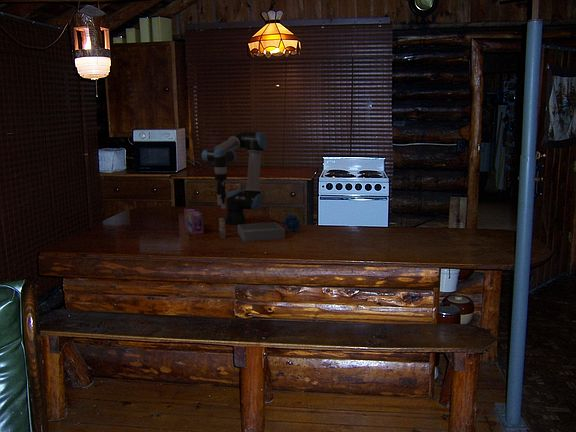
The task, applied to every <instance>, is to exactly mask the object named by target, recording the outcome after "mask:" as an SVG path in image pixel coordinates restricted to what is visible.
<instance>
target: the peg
mask: <svg viewBox="0 0 576 432" xmlns="http://www.w3.org/2000/svg"><path fill="white" fill-rule="evenodd" d="M218 226H219V227H218V231H219V232H218V233H219V234H218V235H219V238H221V239H224V238H226V237H227V235H226V231H227V230H226V228H227V227H226V223H225V218H223V217H219V218H218Z"/></svg>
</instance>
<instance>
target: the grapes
mask: <svg viewBox="0 0 576 432" xmlns="http://www.w3.org/2000/svg"><path fill="white" fill-rule="evenodd" d="M283 225H285V226H284V227H285V228H284V229H285V230H288V231H289V232H291V233H293V232H296V233H297V232H298V231H299V229H301V228H302V226H301V220H300V219H298V217H297V216H296V215H292V214H290V213H289V214H288V215H285V216H284V220H283Z"/></svg>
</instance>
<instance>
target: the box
mask: <svg viewBox="0 0 576 432" xmlns="http://www.w3.org/2000/svg"><path fill="white" fill-rule="evenodd" d="M285 231H286V228H284V227H283V226H282V225H280V224H279V223H277V221H273V222H258V223H244V224H237V234H238V235H239V237H240V238H241V239H242V240H243V242H257V241H269V240H270V241H271V240H282V239H283V240H285V238H286V234H285V233H286V232H285Z"/></svg>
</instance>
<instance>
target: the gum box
mask: <svg viewBox="0 0 576 432" xmlns="http://www.w3.org/2000/svg"><path fill="white" fill-rule="evenodd" d="M183 213H184V226H185V227H184V228H185V229H186V230H187V231H188V232H189V233H190V234H191V235H201V234H204V233H205V231H204V229H205V227H204V214H203V212H202V211H200V210H199V209H197V208H196V207H189V208H188V207H187V208H184V212H183Z"/></svg>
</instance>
